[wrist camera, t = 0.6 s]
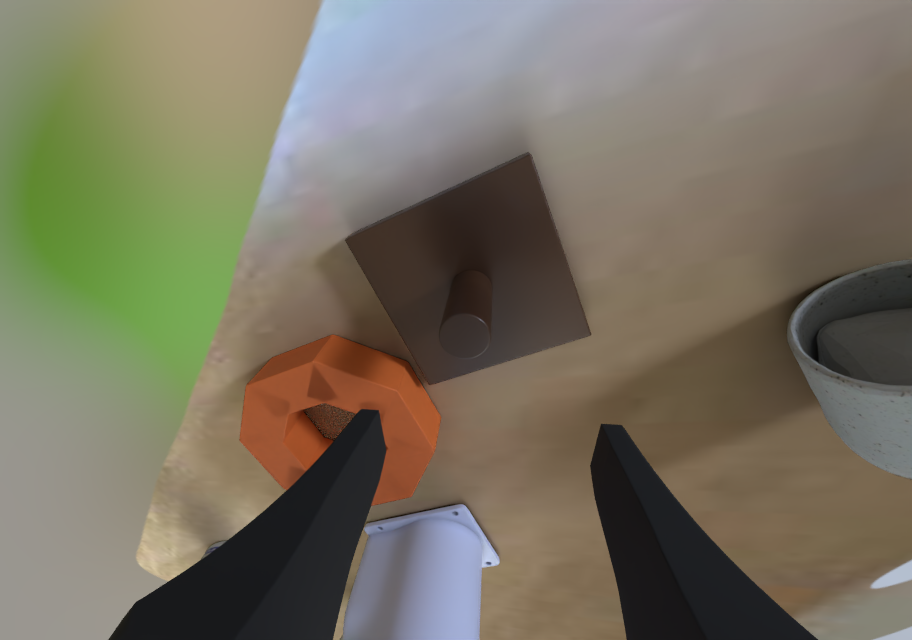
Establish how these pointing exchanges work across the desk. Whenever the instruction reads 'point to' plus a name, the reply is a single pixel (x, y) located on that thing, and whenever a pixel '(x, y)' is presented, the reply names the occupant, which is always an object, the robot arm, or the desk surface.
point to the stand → (474, 273)
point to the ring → (347, 387)
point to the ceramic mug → (862, 360)
